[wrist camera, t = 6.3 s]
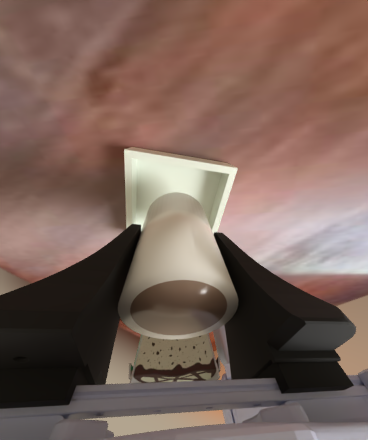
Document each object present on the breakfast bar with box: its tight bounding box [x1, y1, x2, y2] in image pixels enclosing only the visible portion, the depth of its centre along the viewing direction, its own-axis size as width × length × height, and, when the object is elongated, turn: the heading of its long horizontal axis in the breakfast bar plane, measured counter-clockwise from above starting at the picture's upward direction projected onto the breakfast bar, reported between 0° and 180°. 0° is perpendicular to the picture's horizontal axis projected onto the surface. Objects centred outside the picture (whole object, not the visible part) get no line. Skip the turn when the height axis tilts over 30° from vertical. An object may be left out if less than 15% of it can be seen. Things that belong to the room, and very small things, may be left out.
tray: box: [124, 147, 238, 235], centre depth 16 cm, size 10×10×3 cm
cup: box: [118, 192, 238, 340], centre depth 10 cm, size 5×5×8 cm
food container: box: [129, 333, 220, 383], centre depth 25 cm, size 12×6×10 cm, turn 90°
